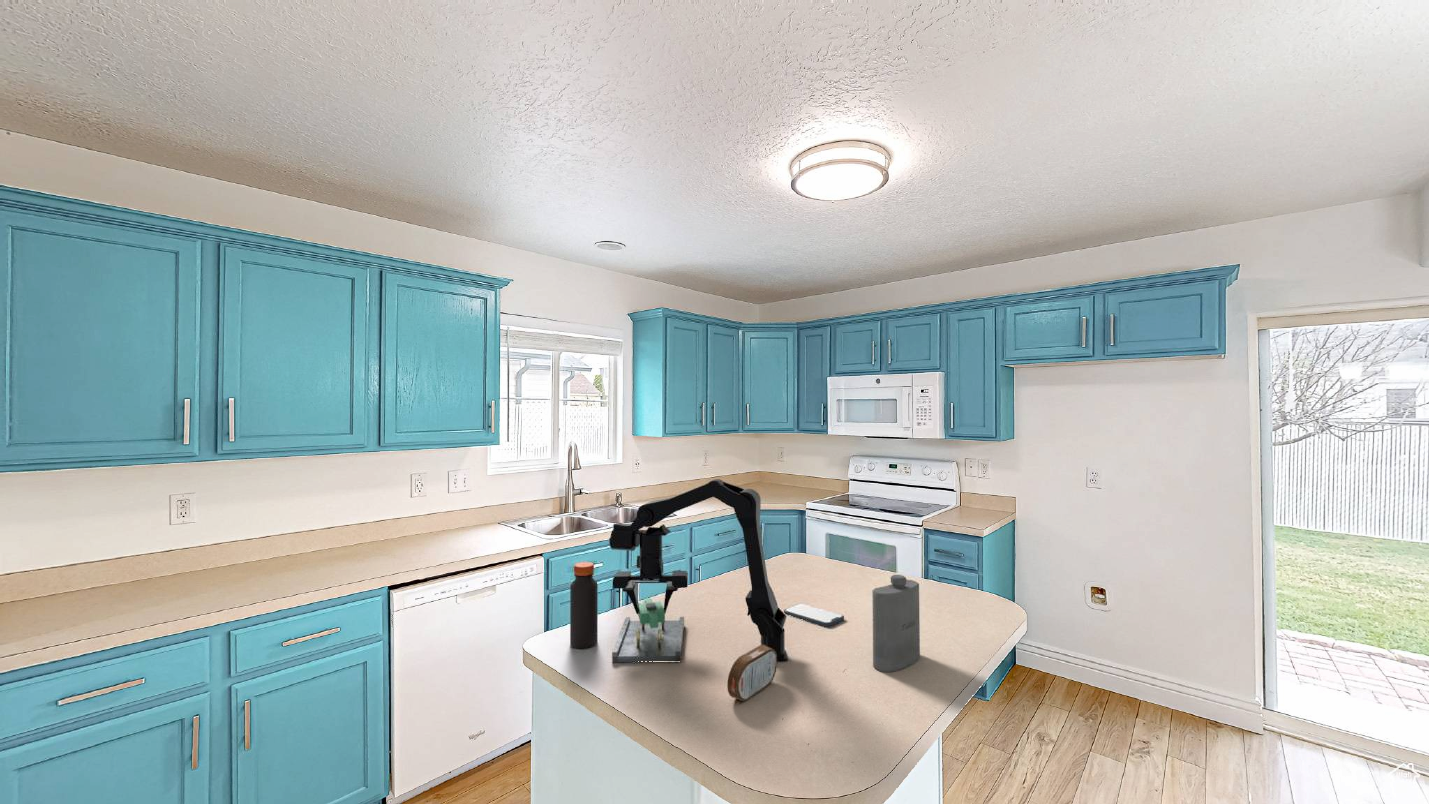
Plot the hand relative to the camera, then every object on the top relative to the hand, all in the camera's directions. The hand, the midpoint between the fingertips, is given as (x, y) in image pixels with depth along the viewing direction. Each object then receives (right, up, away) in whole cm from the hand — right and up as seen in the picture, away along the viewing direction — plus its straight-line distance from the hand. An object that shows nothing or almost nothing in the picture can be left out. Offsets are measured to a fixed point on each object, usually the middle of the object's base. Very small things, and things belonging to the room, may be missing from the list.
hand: (651, 613), depth 140 cm
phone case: (+44, -8, +18) cm, 49 cm away
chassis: (0, -8, 0) cm, 8 cm away
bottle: (-17, -8, 0) cm, 19 cm away
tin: (+24, -7, -25) cm, 35 cm away
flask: (+59, -7, -11) cm, 61 cm away
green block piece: (0, -1, 0) cm, 1 cm away
